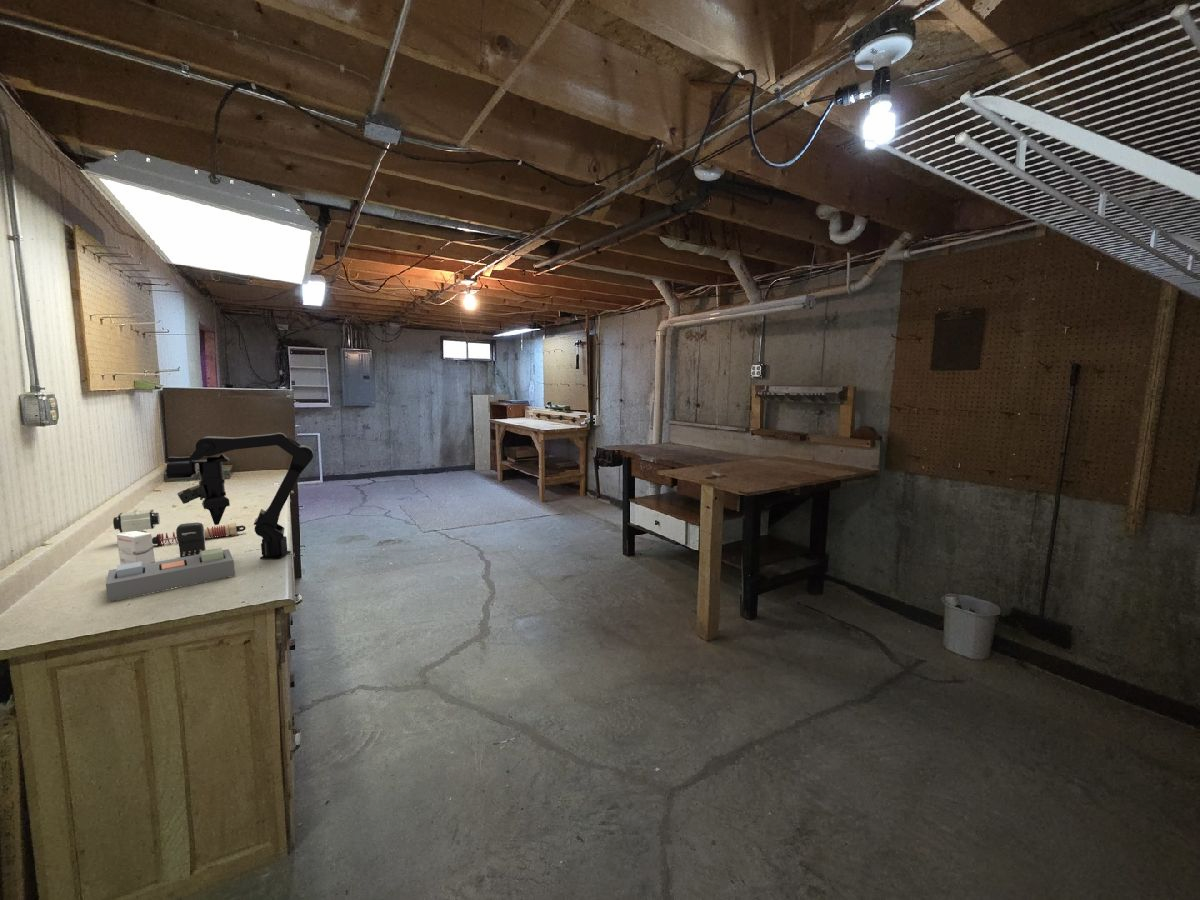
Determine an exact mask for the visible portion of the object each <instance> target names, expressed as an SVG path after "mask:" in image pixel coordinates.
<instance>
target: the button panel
mask: <svg viewBox="0 0 1200 900" xmlns="http://www.w3.org/2000/svg"><path fill="white" fill-rule="evenodd" d="M222 550H223V556H224V558H223V559H218V560H213V561H207V562H202V560H201V554H198V555H192V556H186V557H181V558H180V557H176V558H171V559H165V560H159V561H155V562H152V563H147V564H142V566H143V574H137V575H132V576H127V577H121V578H117V572H116V570H117V568H115V569H114V568H113V569H109V570H108V573H107V575H106V576H107V577H106V580H105V589H106V596H107V602H108V603H110V602H109V601H112V602H115V601H114V600H116V601H120V600H119V599H121V600H125V599H124V598H126V599H130V598H129V597H131V598H135V597H134V596H136V597H139V596H138V595H140V596H144V595H143V594H145V595H149V594H148V593H150V594H153V593H152V592H155V593H158V592H157V591H160V592H163V591H162V590H164V591H167V590H166V589H169V590H172V589H171V588H174V589H176V588H175V587H179V588H181V587H180V586H184V587H186V586H185V585H189V586H192V585H191V584H193V585H196V584H195V583H198V584H201V582H203V583H206V582H205V581H208V582H211V581H210V580H213V581H216V580H215V579H217V580H221V579H220V578H222V579H225V578H224V577H227V578H230V577H229V576H232V577H235V576H236V573H235V572H236V570H235V562H234V561H235V560H234V558H233V556H232V553H231V552H230V550H229V548H227V549H222ZM182 560H184V563H185V566H180V567H175V568H170V569H164V570H162V565H161V564H165V563H171V562H176V561H182ZM234 575H235V576H234Z"/></svg>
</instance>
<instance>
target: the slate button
mask: <svg viewBox="0 0 1200 900" xmlns="http://www.w3.org/2000/svg"><path fill="white" fill-rule="evenodd" d="M116 569H117V570H116V572H117V578H121V577H127V576H132V575H137V574H143V566H142V561H141V562H135V563H129V564H124V565H120V564H119V565H116Z"/></svg>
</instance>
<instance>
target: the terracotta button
mask: <svg viewBox="0 0 1200 900" xmlns="http://www.w3.org/2000/svg"><path fill="white" fill-rule="evenodd" d="M161 565H162V570H164V569H170V568H175V567H180V566H185V563H184V560H182V561H176V562H171V563H165V564H161Z"/></svg>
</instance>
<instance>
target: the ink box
mask: <svg viewBox="0 0 1200 900" xmlns="http://www.w3.org/2000/svg"><path fill="white" fill-rule="evenodd" d="M152 538H153V536H152V533H150V532H147V533H145V532H139V531H130V532H122V533H118V534H116V541H117V548H118V555H119V556H118V557H119V565H124V564H129V563H135V562H141V561H142V564H147V563H152V562H156V559H155V552H154V551H155V550H154V544H153V543H152Z"/></svg>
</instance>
